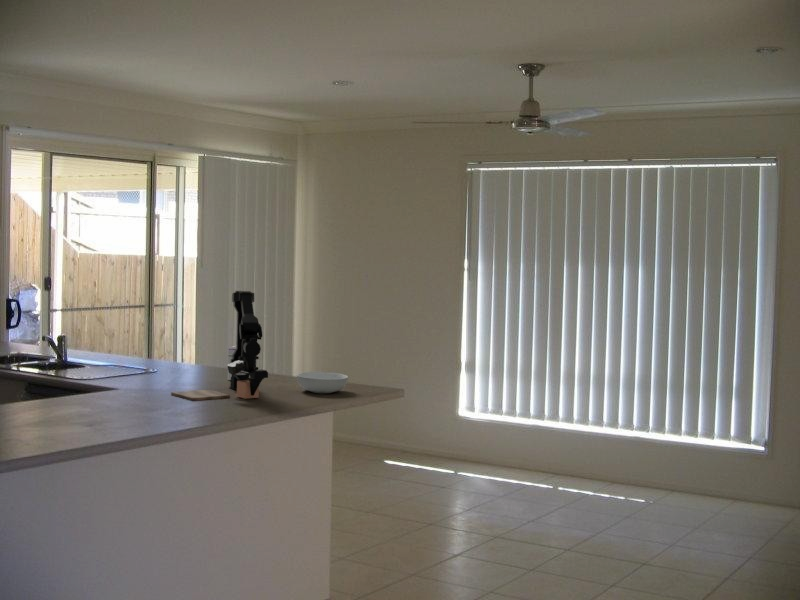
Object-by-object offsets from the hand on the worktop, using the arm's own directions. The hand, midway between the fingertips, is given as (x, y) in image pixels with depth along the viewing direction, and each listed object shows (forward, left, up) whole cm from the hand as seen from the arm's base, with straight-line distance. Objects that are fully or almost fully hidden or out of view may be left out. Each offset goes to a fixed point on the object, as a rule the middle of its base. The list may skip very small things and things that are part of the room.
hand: (247, 394), depth 358 cm
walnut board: (+14, -11, -1) cm, 18 cm away
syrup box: (-22, -43, -2) cm, 48 cm away
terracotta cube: (0, 0, -1) cm, 1 cm away
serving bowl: (-35, +1, -2) cm, 35 cm away
